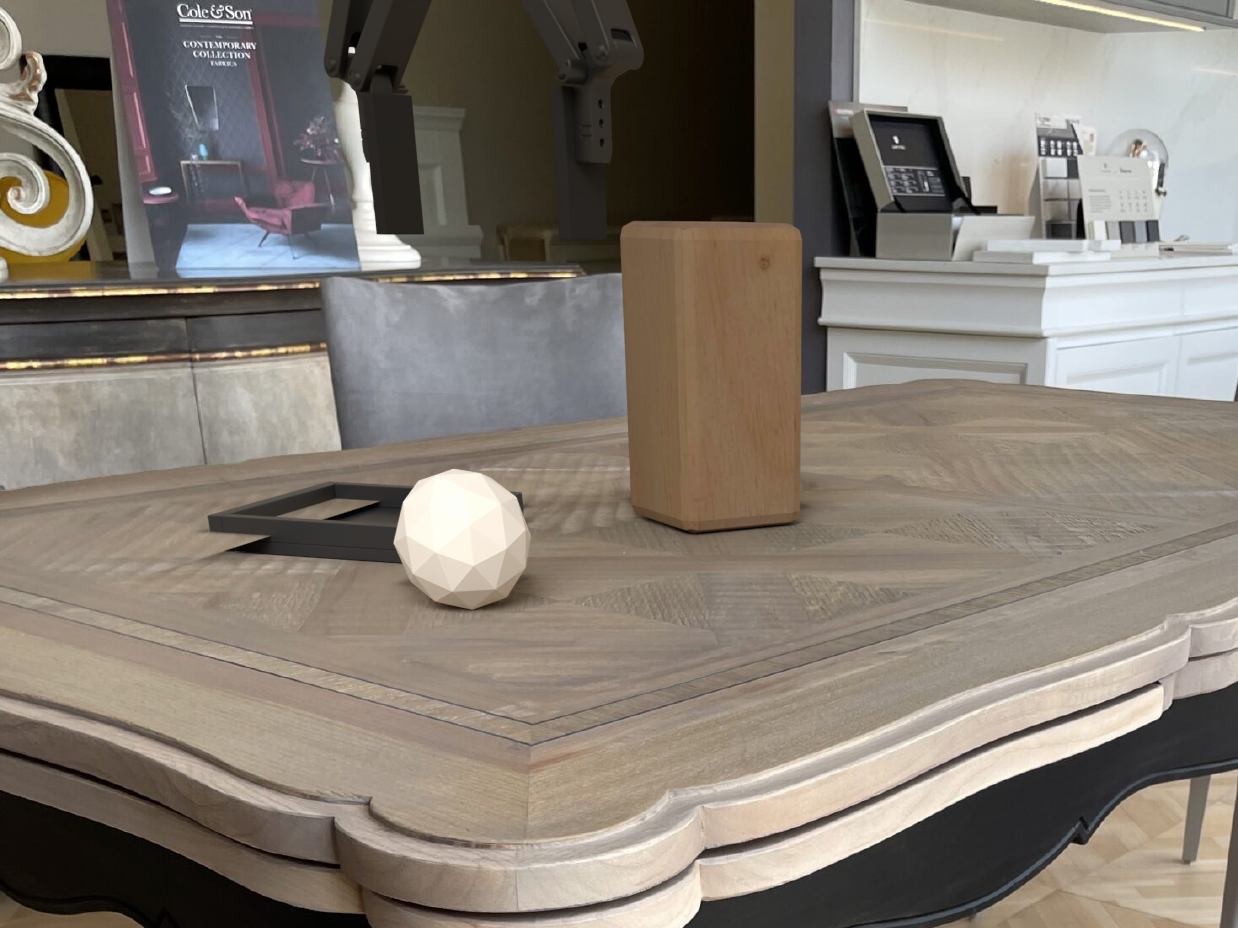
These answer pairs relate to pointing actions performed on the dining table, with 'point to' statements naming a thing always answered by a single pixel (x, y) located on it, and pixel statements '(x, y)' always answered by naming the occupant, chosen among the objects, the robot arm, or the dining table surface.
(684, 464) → the wooden block
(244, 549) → the tray
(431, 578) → the geometric ball
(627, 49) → the robot arm
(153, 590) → the dining table surface
